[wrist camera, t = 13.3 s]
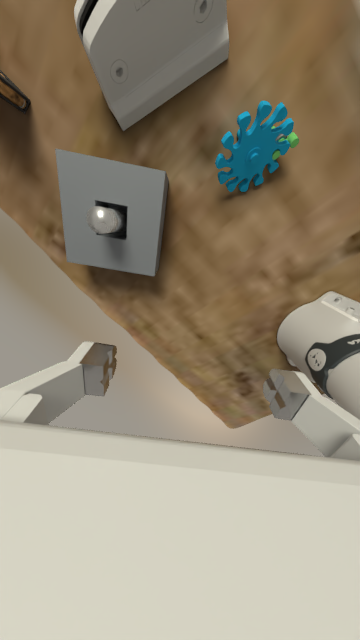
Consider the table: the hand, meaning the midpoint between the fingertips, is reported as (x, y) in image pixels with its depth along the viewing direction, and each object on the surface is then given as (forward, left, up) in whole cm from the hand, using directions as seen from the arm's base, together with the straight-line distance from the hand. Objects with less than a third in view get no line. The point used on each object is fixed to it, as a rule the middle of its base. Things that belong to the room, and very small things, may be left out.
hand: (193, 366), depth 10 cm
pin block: (+12, -5, -29) cm, 32 cm away
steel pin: (+12, -5, -28) cm, 31 cm away
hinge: (+8, -24, -30) cm, 39 cm away
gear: (-7, -16, -29) cm, 34 cm away
